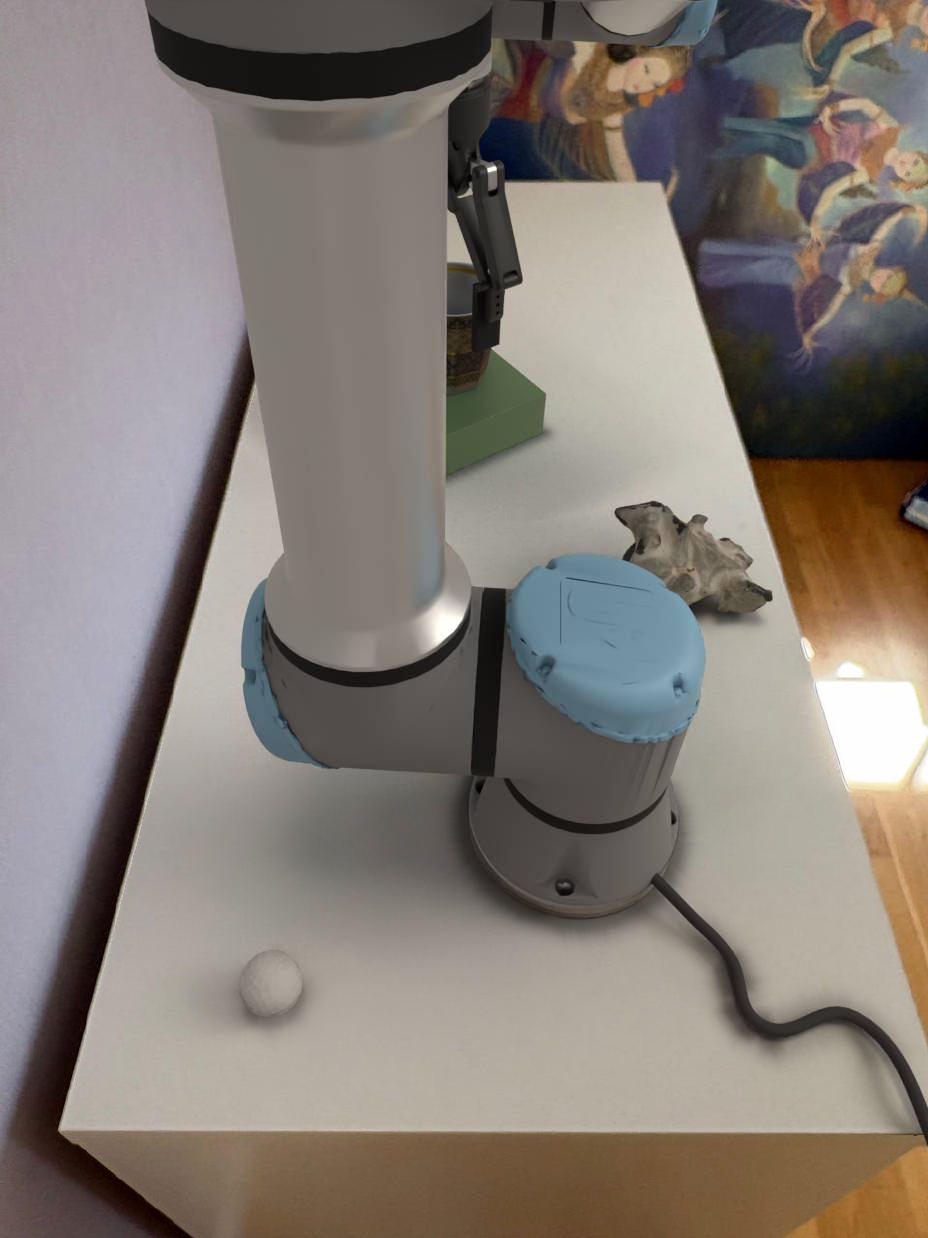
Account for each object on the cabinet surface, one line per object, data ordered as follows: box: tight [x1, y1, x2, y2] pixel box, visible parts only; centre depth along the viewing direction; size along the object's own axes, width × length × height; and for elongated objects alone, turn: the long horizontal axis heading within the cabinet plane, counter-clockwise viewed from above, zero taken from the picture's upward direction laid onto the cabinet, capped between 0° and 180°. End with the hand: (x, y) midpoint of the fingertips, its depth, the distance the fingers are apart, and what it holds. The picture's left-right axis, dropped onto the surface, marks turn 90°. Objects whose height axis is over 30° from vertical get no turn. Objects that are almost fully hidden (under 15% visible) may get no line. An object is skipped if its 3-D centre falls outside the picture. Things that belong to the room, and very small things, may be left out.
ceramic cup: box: [446, 261, 506, 395], centre depth 95 cm, size 13×10×10 cm
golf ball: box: [238, 949, 304, 1018], centre depth 61 cm, size 4×4×4 cm
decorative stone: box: [613, 500, 774, 614], centre depth 84 cm, size 16×9×10 cm
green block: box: [446, 348, 547, 476], centre depth 101 cm, size 15×15×5 cm
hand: (444, 314), depth 93 cm, fingers open, 13 cm apart
